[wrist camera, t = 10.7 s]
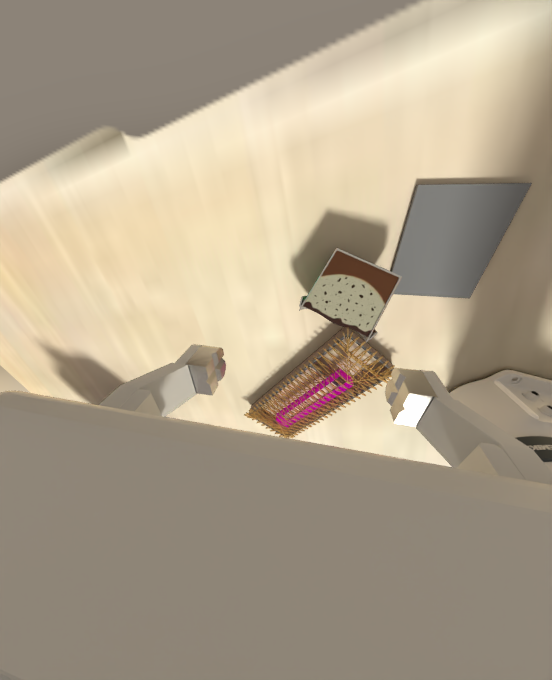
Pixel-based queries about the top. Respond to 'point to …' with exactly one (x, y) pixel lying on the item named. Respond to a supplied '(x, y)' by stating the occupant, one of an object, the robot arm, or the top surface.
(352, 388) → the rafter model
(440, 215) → the mat
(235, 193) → the top surface
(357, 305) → the food container
